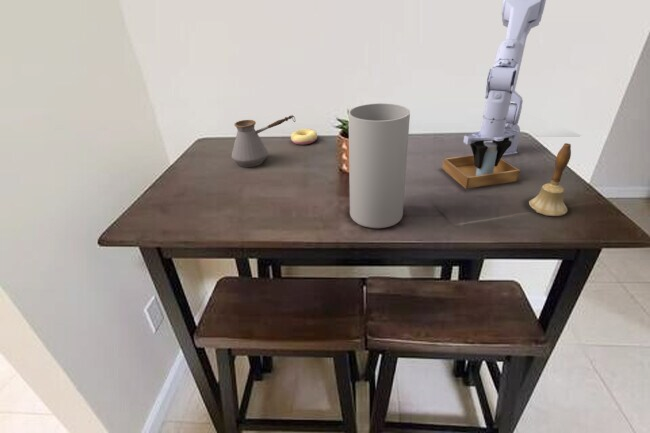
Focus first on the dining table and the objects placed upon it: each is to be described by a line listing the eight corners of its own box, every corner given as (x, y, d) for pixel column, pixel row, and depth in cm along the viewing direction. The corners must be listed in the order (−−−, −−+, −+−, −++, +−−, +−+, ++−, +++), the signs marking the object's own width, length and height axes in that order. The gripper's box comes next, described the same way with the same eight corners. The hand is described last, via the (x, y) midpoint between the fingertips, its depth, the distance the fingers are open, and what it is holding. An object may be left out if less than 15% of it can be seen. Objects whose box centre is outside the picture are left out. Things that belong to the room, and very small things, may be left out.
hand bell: (563, 201, 93) (584, 138, 85) (570, 218, 86) (592, 152, 78) (526, 197, 95) (542, 136, 87) (529, 214, 89) (547, 149, 80)
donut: (289, 149, 136) (312, 148, 132) (285, 138, 133) (309, 136, 129) (299, 136, 143) (322, 134, 139) (295, 125, 140) (319, 123, 136)
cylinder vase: (389, 235, 84) (395, 124, 71) (340, 221, 90) (337, 116, 77) (410, 209, 93) (419, 107, 80) (364, 198, 99) (365, 101, 86)
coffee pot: (228, 169, 118) (219, 122, 111) (239, 155, 128) (231, 110, 120) (296, 169, 116) (291, 121, 108) (301, 155, 126) (298, 109, 118)
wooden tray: (489, 163, 113) (491, 152, 112) (517, 182, 102) (520, 170, 100) (442, 170, 111) (443, 158, 109) (465, 190, 100) (467, 178, 98)
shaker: (486, 170, 108) (492, 140, 103) (495, 177, 104) (502, 146, 99) (472, 173, 107) (477, 142, 102) (481, 179, 103) (486, 148, 99)
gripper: (477, 124, 93) (469, 175, 100) (530, 118, 95) (518, 168, 102) (462, 116, 99) (455, 164, 106) (513, 110, 101) (502, 158, 108)
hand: (485, 165), depth 104 cm, fingers closed on shaker, 4 cm apart
